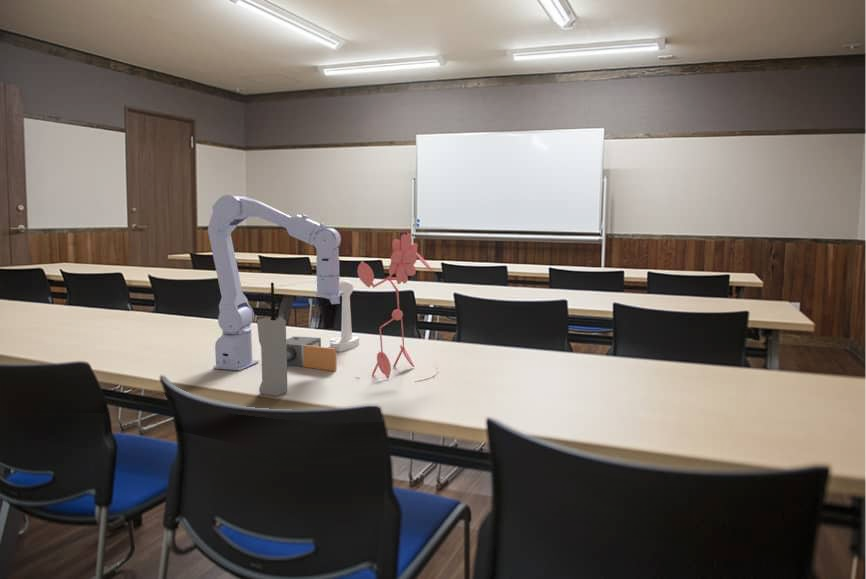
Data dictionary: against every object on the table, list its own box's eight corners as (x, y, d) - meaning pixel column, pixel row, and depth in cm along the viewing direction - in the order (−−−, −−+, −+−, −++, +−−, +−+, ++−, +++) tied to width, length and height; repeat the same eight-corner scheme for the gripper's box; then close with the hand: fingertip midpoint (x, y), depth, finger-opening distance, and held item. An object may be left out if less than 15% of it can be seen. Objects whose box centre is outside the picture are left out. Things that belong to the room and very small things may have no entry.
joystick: (343, 352, 184) (342, 282, 182) (320, 349, 187) (319, 281, 184) (362, 344, 194) (361, 278, 192) (341, 342, 197) (340, 277, 195)
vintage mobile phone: (270, 389, 146) (267, 280, 143) (287, 392, 144) (284, 281, 141) (259, 393, 143) (255, 282, 140) (276, 397, 141) (273, 283, 138)
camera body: (301, 367, 166) (301, 344, 166) (273, 365, 169) (273, 342, 168) (321, 357, 177) (320, 336, 176) (294, 355, 180) (294, 334, 179)
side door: (301, 366, 167) (300, 345, 166) (303, 365, 168) (302, 344, 167) (334, 371, 162) (334, 349, 162) (336, 370, 163) (336, 348, 163)
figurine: (348, 381, 153) (349, 234, 148) (408, 360, 175) (411, 231, 170) (401, 392, 145) (404, 237, 140) (457, 368, 167) (461, 233, 162)
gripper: (351, 277, 159) (351, 331, 161) (335, 272, 172) (336, 322, 174) (323, 278, 156) (324, 333, 158) (309, 273, 169) (310, 323, 171)
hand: (328, 327), depth 166 cm, fingers closed
